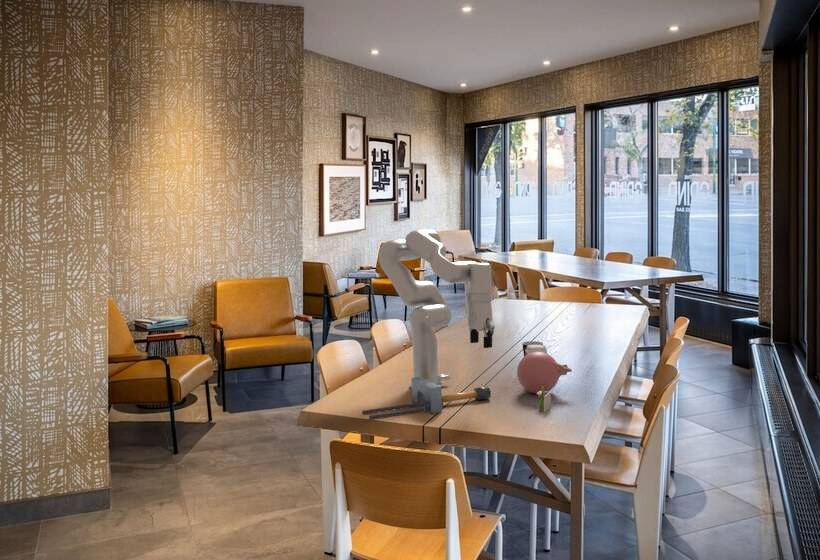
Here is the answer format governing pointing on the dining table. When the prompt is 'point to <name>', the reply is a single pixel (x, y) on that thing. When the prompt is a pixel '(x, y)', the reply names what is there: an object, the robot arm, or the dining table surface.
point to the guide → (392, 412)
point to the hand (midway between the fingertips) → (481, 345)
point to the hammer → (469, 395)
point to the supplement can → (535, 348)
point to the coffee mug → (529, 344)
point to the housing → (427, 395)
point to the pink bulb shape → (540, 372)
